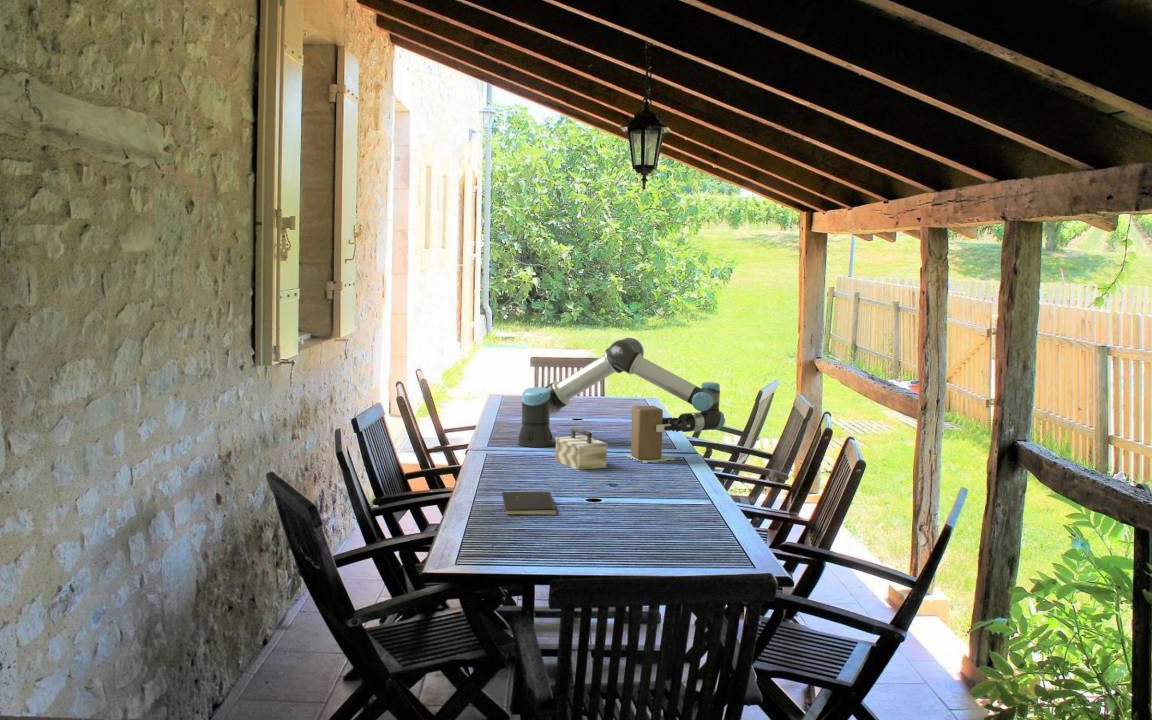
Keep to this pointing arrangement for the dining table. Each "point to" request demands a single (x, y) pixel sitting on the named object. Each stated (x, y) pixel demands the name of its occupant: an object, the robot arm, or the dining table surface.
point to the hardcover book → (529, 503)
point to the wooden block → (646, 432)
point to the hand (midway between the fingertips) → (646, 425)
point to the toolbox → (581, 451)
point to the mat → (663, 458)
